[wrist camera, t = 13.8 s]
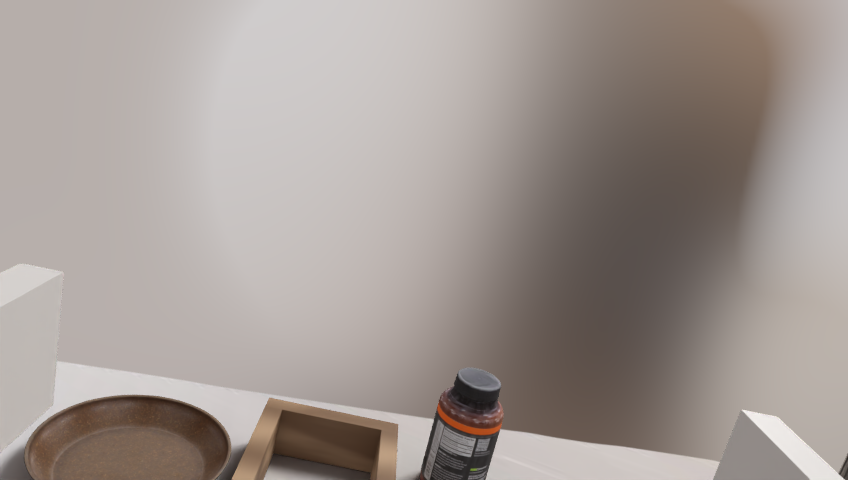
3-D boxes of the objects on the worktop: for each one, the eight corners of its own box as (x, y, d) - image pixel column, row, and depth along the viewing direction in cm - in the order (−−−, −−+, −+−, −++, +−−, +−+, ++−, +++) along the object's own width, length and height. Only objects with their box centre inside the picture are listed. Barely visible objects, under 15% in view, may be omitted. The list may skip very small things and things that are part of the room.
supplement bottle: (439, 458, 61) (468, 355, 58) (491, 489, 58) (523, 383, 55) (405, 482, 56) (435, 371, 53) (460, 518, 53) (494, 402, 50)
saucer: (254, 448, 56) (259, 422, 55) (167, 564, 42) (173, 531, 41) (104, 403, 57) (107, 377, 56) (-31, 502, 43) (-28, 469, 42)
